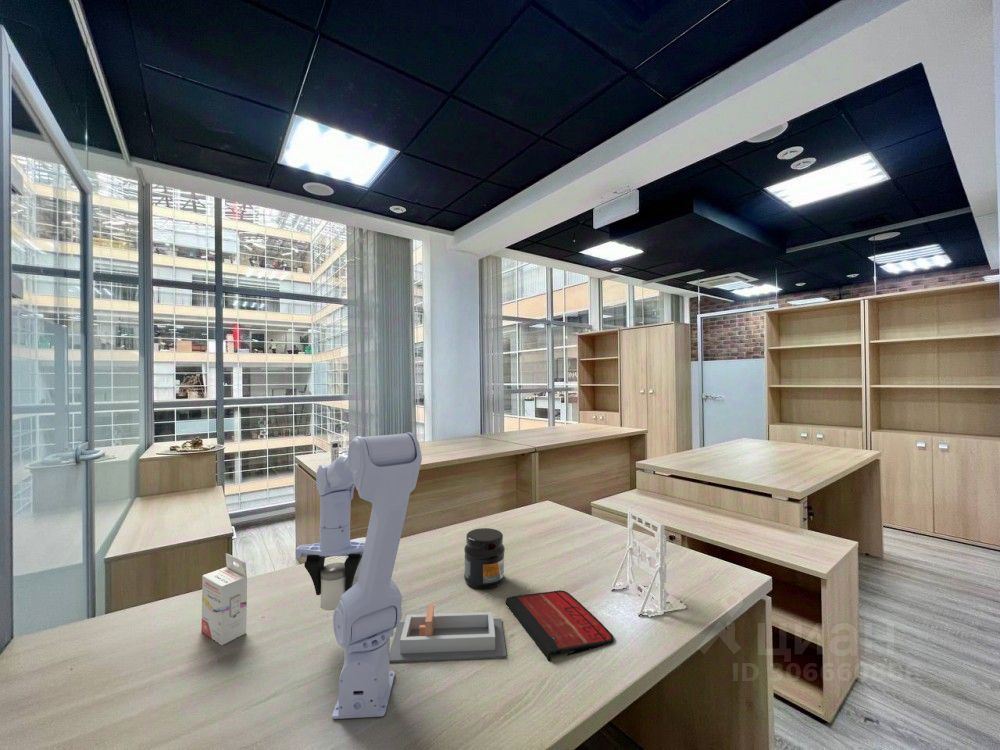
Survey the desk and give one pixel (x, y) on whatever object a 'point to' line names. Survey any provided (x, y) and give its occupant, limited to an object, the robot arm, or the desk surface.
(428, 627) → the pusher
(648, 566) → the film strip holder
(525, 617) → the binder
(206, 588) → the ink cartridge box
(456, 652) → the base
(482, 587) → the supplement container
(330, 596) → the jar
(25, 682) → the desk surface
